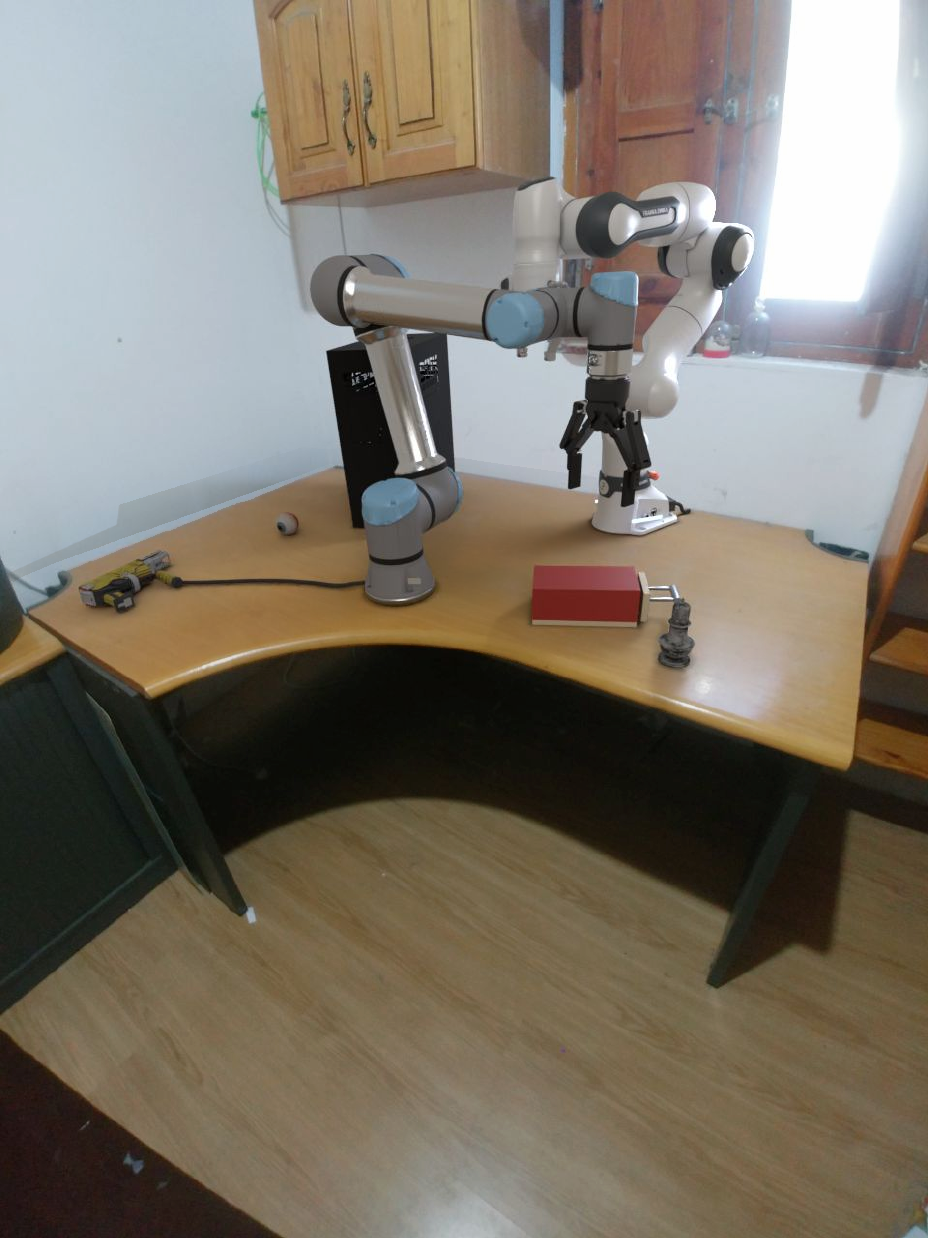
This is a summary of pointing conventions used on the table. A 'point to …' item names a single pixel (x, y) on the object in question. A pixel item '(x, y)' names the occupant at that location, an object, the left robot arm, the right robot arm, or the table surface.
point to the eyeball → (287, 523)
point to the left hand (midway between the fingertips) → (599, 496)
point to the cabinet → (585, 596)
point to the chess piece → (677, 637)
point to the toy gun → (127, 582)
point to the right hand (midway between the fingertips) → (535, 358)
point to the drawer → (646, 597)
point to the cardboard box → (367, 419)
